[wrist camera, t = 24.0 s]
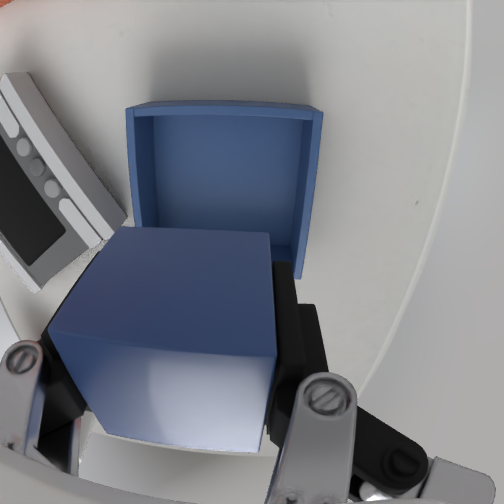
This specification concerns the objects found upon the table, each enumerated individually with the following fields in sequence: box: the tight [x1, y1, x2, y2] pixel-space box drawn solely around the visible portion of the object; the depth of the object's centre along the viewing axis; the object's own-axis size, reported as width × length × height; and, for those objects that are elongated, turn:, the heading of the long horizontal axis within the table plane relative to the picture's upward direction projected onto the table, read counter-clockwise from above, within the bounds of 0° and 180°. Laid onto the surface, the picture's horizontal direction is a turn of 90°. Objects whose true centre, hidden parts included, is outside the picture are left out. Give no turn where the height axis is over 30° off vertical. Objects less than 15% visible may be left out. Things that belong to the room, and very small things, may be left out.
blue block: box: [48, 226, 277, 452], centre depth 8 cm, size 4×4×4 cm
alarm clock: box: [0, 72, 128, 294], centre depth 23 cm, size 17×5×16 cm
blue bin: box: [126, 100, 323, 279], centre depth 22 cm, size 12×12×5 cm
